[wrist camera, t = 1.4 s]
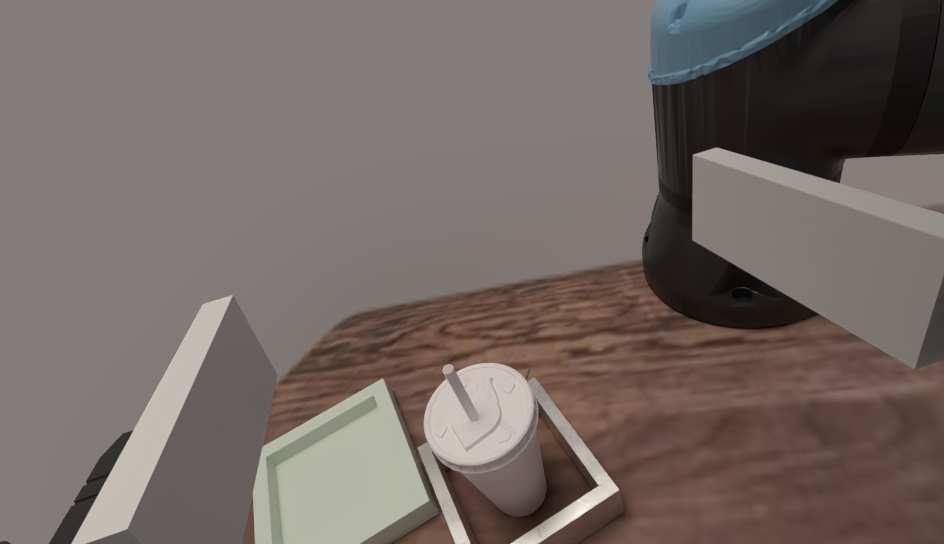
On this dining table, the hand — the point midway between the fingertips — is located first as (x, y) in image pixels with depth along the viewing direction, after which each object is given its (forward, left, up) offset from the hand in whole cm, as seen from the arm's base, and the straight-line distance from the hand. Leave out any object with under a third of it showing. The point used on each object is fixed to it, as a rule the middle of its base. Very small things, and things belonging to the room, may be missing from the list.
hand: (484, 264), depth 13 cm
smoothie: (+2, -6, -23) cm, 24 cm away
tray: (+13, -13, -23) cm, 30 cm away
